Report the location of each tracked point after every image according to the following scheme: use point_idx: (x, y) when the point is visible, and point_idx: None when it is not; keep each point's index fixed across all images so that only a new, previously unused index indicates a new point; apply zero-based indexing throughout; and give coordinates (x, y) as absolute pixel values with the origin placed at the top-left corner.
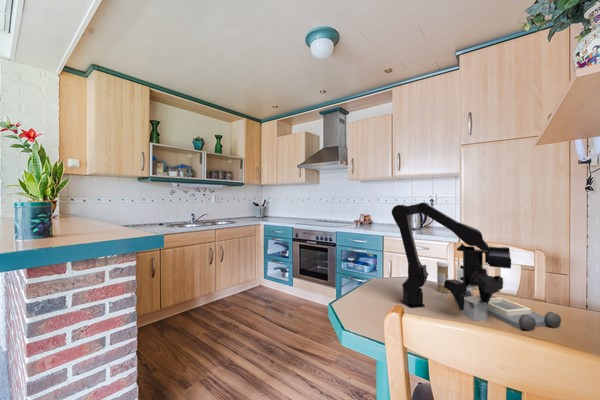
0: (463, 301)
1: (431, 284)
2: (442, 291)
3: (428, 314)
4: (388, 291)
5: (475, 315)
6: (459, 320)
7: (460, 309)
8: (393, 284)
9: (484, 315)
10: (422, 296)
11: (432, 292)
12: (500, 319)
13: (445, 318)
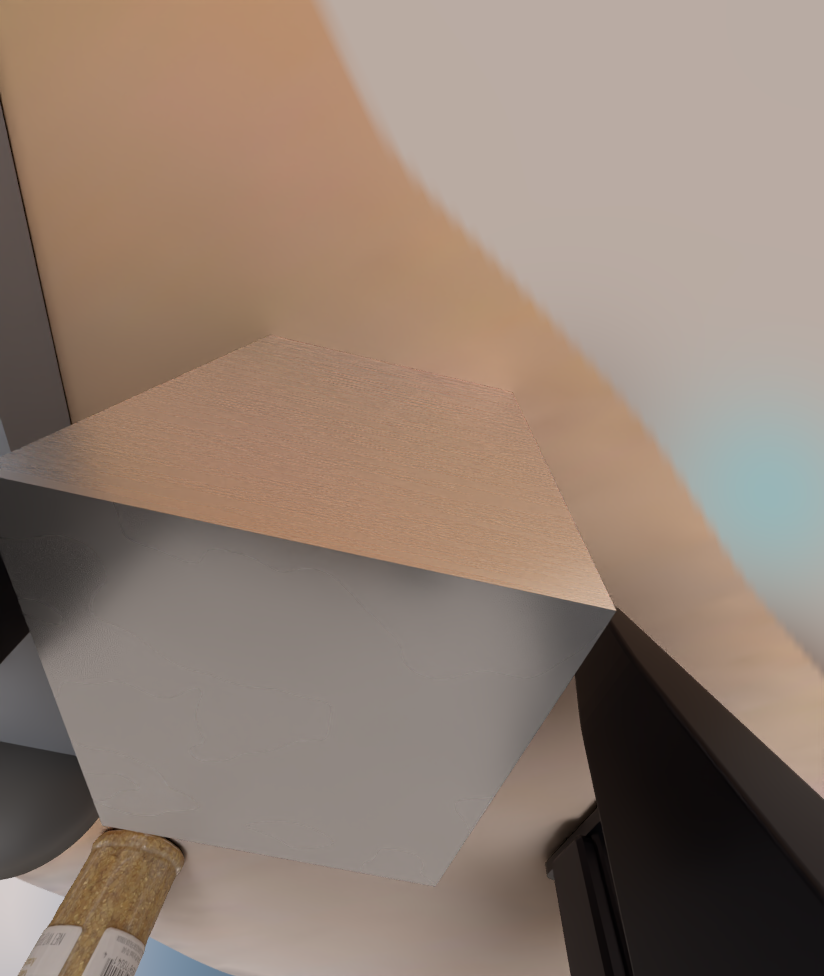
0: (788, 818)
1: None
2: (163, 854)
3: (791, 718)
4: (552, 951)
5: (507, 423)
6: (672, 505)
7: None
8: (403, 966)
9: (298, 366)
10: (605, 929)
11: (247, 862)
12: (21, 234)
13: (759, 605)
